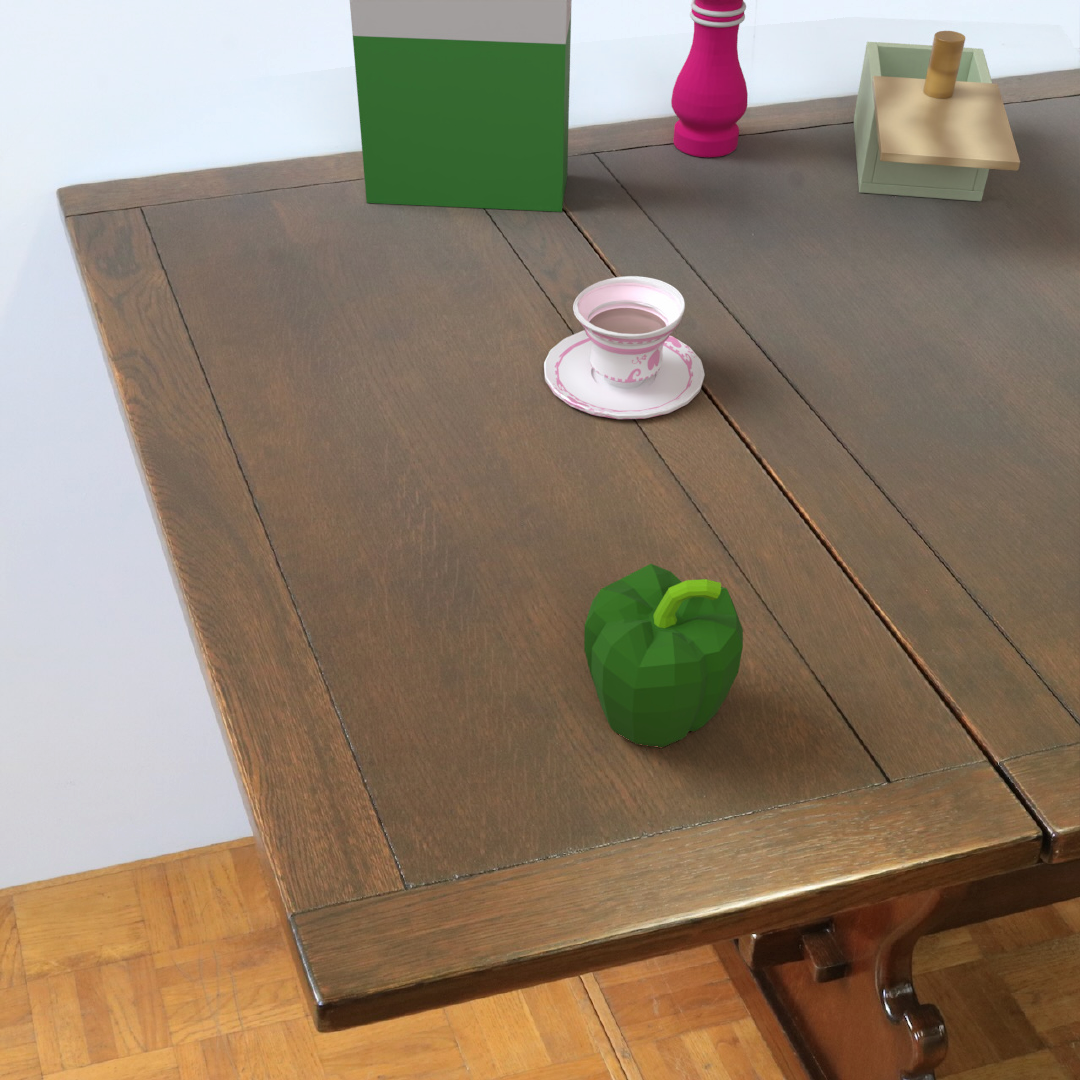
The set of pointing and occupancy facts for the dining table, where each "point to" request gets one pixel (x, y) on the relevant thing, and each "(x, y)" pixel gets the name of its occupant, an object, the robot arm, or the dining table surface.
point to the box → (869, 167)
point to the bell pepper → (662, 653)
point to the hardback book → (464, 101)
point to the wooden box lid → (943, 115)
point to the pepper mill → (711, 82)
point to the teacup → (625, 352)
